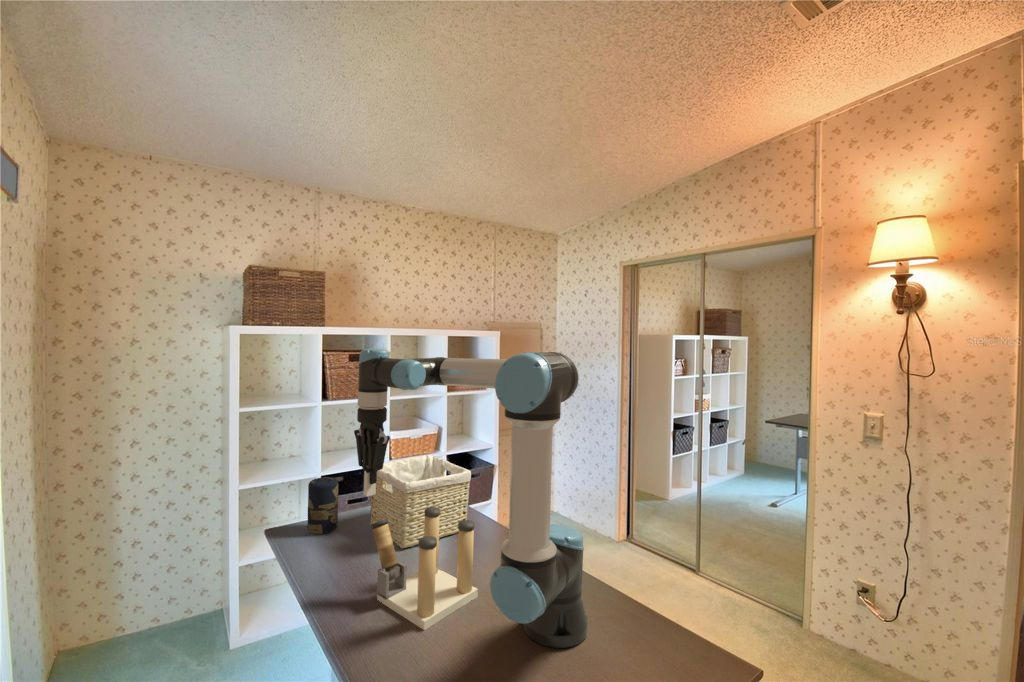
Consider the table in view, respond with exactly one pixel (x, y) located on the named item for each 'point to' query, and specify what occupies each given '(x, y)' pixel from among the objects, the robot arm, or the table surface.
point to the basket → (420, 497)
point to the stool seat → (431, 578)
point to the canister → (322, 505)
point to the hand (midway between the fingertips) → (369, 494)
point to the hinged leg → (386, 549)
